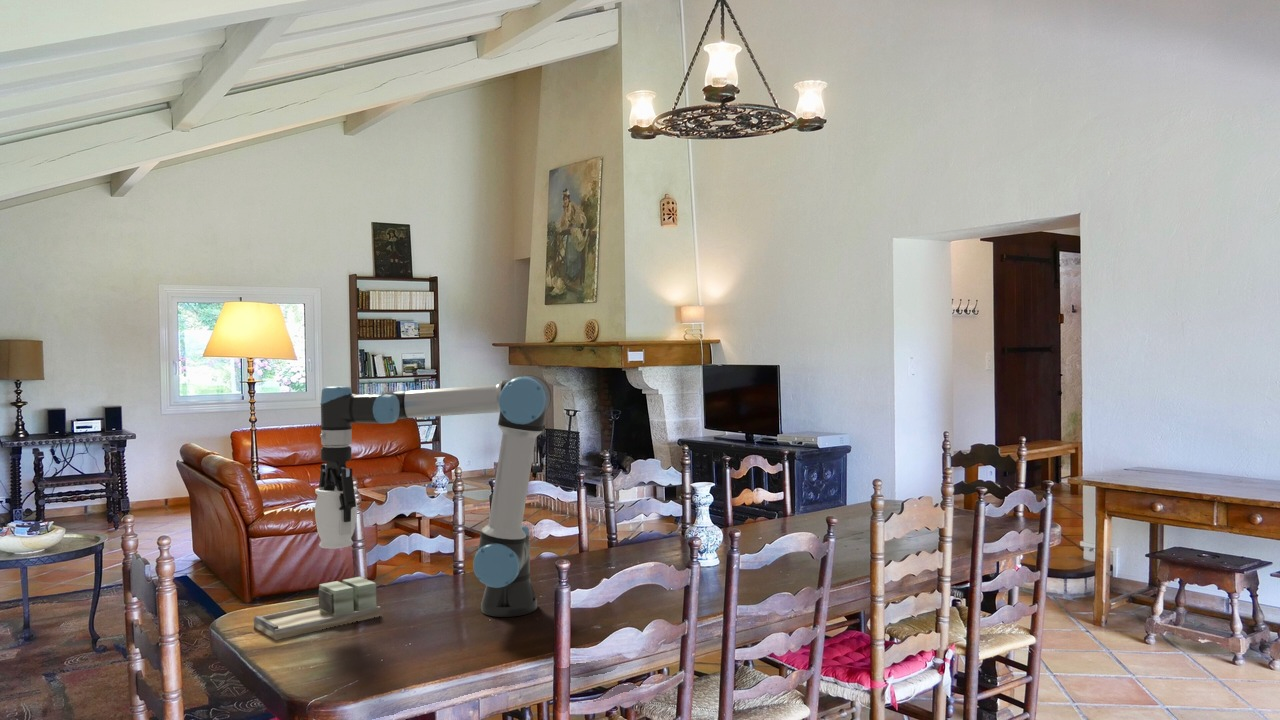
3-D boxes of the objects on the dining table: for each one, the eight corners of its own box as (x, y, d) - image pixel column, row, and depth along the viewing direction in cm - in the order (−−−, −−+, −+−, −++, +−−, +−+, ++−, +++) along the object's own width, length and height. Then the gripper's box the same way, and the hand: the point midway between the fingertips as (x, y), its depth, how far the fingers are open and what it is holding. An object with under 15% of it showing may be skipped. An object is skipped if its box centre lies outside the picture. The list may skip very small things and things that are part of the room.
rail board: (380, 616, 245) (380, 584, 245) (276, 640, 226) (275, 605, 226) (355, 605, 256) (355, 575, 256) (253, 627, 237) (253, 594, 237)
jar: (343, 551, 230) (343, 492, 230) (306, 549, 232) (306, 490, 232) (364, 542, 241) (364, 485, 240) (328, 540, 243) (328, 484, 243)
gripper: (304, 443, 242) (304, 526, 242) (341, 450, 225) (341, 540, 226) (331, 441, 247) (331, 522, 247) (370, 448, 230) (369, 535, 231)
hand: (336, 531), depth 236 cm, fingers closed on jar, 10 cm apart
